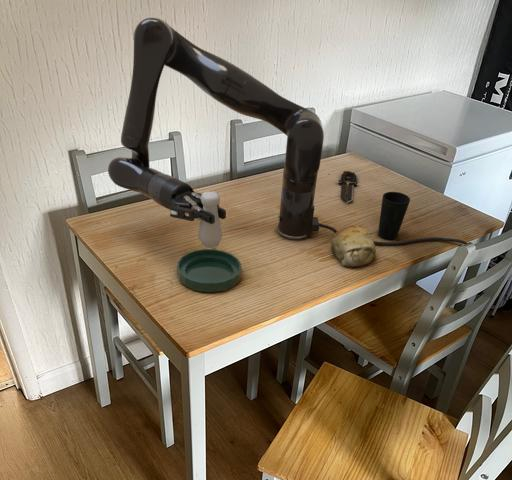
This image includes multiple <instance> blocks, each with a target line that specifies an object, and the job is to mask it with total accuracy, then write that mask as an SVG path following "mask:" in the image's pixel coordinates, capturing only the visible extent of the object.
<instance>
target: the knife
mask: <svg viewBox="0 0 512 480" xmlns="http://www.w3.org/2000/svg"><path fill="white" fill-rule="evenodd" d="M342 172H343V173H342V174H341V177H340V179H338V183H337V185H340V186H341V188H340V196H339V197H340V198H341V199H342V200H343V201H346V204H349V203H351V202H352V201H353V197H354V188H355V187H358V182H357V174H356V173H355V172H354V171H353V172H352V171H350V170H345V171H342ZM347 181H349V182H347Z"/></svg>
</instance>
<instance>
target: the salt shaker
mask: <svg viewBox="0 0 512 480" xmlns="http://www.w3.org/2000/svg"><path fill="white" fill-rule="evenodd" d="M201 194H202V196H201V202H202V204H203V210H205V211H207V212H209V213H211V214H213V215H214V216H215V223H214V224H210V223H207V222H205V221H203V220H199V227H198V233H197V237H198V239H199V241H200V243H201V245H202V246H203V247H204V248H206V249H215V248H217V247H219V245H220V243H221V240H223V231H222V226H221V220H220V218H219V214H218V209H217V205H218V204H219V205H220V203H221V197H220V195H219V193H218V192H216V191H212V190H208V191H204V192H203V193H201Z"/></svg>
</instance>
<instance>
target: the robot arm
mask: <svg viewBox="0 0 512 480" xmlns="http://www.w3.org/2000/svg"><path fill="white" fill-rule="evenodd" d="M165 67H166V68H169V69H171V70H173V71H175V72H177V73H178V74H181V75H182V76H184V77H186V78H187V79H188V80H190V81H191V82H192V83H193V84H194V85H196V86H197V88H199V89H200V90H201V91H203V92H204V93H205V94H206V95H208V97H211V98H212V99H213V100H215V101H216V102H217V103H219V104H221V105H223V106H224V107H226V108H228V109H229V110H231V111H234V112H235V113H237V114H240V115H243V116H246V117H249V118H253V119H257V120H261V121H263V122H265V123H268V124H269V125H271V126H273V127H274V128H276V129H277V130H279V131H280V132H281V133H283V134H284V135H285V136H287V137H286V146H285V156H284V157H285V158H284V164H283V172H282V173H283V174H282V183H281V192H280V193H281V194H280V203H279V212H278V215H277V218H278V224H277V233H278V235H279V236H281V237H282V238H284V239H287V240H292V241H293V240H294V241H299V240H304V239H307V238H311V235H312V232H313V233H319V231H320V228H324V229H326V230H329V231H332V232H333V233H334V234H335V233H336V232H338V231H339V230H337V229H335V228H334V227H333V226H330V225H327V224H323V223H320V221H319V217H318V216H314V215H315V203H314V202H315V196H316V195H315V194H316V189H317V181H318V173H319V170H320V166H321V159H322V154H323V148H324V147H323V146H324V139H325V134H324V128H323V127H324V126H323V123H322V119H320V117H319V115H318V114H317V113H316V112H314V111H312V110H310V109H308V108H305V107H304V106H301V105H300V104H297V103H296V102H293V101H291V100H289V99H287V98H285V97H283V96H282V95H280V94H279V93H278V92H275V90H273V89H272V88H270V87H269V86H268V85H266V84H265V83H263V82H262V81H260V80H259V79H257V78H255V76H253V75H252V74H250V73H248V72H246V71H245V70H243V69H242V68H240V67H239V66H236V65H235V64H233V63H231V62H230V61H228V60H226V59H224V58H222V57H220V56H218V55H216V54H214V53H211V52H209V51H207V50H205V49H203V48H201V47H199V46H197V45H195V44H194V43H193V42H191V41H190V40H189V39H188V38H186V37H185V36H184V35H182V34H180V32H178V31H177V30H176V29H174V28H173V27H172V26H171V25H170V24H169V23H168V22H166V21H164V19H161V18H158V17H146V18H143V19H142V20H141V21H139V22H138V24H136V26H135V28H134V32H133V62H132V75H131V82H130V83H131V84H130V88H129V89H130V90H129V95H128V99H127V104H126V108H125V113H124V118H123V124H122V129H121V134H120V143H121V145H122V147H124V148H125V149H128V150H130V151H131V157H123V156H120V157H119V156H118V157H115V158H113V159H111V161H110V162H109V164H108V166H107V174H108V177H109V179H110V180H111V181H112V182H113V184H115V185H116V186H117V187H120V188H122V189H126V190H129V191H133V192H136V193H139V194H141V195H143V196H145V197H147V198H149V199H151V200H152V201H153V202H154V203H156V204H158V205H160V206H162V207H163V208H165V209H167V210H169V214H170V217H171V218H174V219H179V220H182V221H183V220H184V221H189V222H195V220H198V221H201V220H203V221H205V222H207V223H210V224H214V223H215V216H214V215H213V214H211V213H209V212H207V211H205V210H203V204H202V202H201V196H202V194H203V193H201V192H196V191H195V190H194V189H193V188H192V186H191V185H190V184H189V183H187V182H185V181H182V180H181V179H178V178H176V177H174V176H172V175H170V174H167V173H163V172H162V171H160V170H157V169H155V168H152V167H150V147H149V145H150V140H151V134H152V130H153V125H154V118H155V112H156V103H157V102H156V101H157V96H158V95H157V94H158V88H159V84H160V80H161V78H162V77H161V76H162V75H163V74H162V73H163V71H164V68H165ZM217 209H218V214H219V219H221V220H225V219H226V218H227V211H226V209H225V208H223V207H221V206H220V203H219V204H218V205H217ZM372 241H373V242H374V244H375V245H378V246H401V245H405V244H412V243H419V242H429V241H442V242H453V243H459V244H463V245H464V246H466V245H465V244H467V243H468V242H467V241H465V240H462V239H458V238H449V237H448V238H446V237H438V236H436V237H435V236H433V237H432V236H431V237H421V238H413V239H407V240H400V241H376V240H372Z"/></svg>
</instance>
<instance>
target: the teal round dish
mask: <svg viewBox="0 0 512 480" xmlns="http://www.w3.org/2000/svg"><path fill="white" fill-rule="evenodd" d="M176 276H177V278H178V280H179V282H180V283H181V284H182V285H183V286H185V287H186V288H189V289H191V290H193V291H198V292H201V293H217V292H222V291H226V290H228V289H231V288H233V287H234V286H236V285H237V284H238V283H239V282H240V280H241V278H242V263H241V260H239V258H238V257H236V255H234V254H232V253H230V252H228V251H225V250H220V249H216V248H202V249H196V250H193V251H190V252H186V253H185V254H183V255H181V257H179V259H178V261H177V263H176Z"/></svg>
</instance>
